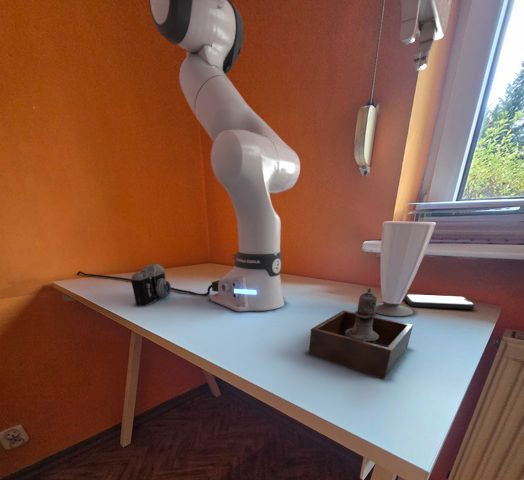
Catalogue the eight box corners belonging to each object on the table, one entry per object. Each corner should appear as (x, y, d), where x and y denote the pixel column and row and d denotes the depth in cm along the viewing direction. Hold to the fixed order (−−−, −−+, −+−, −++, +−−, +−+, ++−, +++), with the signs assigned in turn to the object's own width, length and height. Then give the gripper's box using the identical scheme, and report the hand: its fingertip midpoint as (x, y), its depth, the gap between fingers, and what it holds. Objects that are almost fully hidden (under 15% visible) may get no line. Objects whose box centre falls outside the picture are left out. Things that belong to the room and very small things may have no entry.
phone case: (410, 307, 76) (475, 310, 73) (411, 301, 76) (477, 304, 72) (403, 299, 84) (462, 301, 81) (404, 293, 83) (463, 296, 80)
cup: (416, 319, 67) (442, 222, 58) (367, 314, 70) (384, 222, 61) (409, 305, 77) (431, 221, 67) (367, 302, 80) (381, 221, 71)
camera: (155, 307, 76) (149, 270, 71) (133, 305, 77) (125, 269, 72) (178, 293, 89) (174, 261, 84) (159, 292, 90) (153, 261, 85)
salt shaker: (353, 360, 48) (365, 293, 43) (336, 346, 53) (345, 285, 48) (382, 356, 49) (396, 291, 44) (363, 343, 54) (374, 283, 49)
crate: (308, 353, 50) (310, 328, 48) (340, 331, 60) (343, 310, 57) (384, 379, 43) (391, 350, 40) (406, 349, 52) (413, 324, 50)
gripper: (426, -30, 43) (405, 85, 49) (394, -156, 29) (371, 30, 35) (474, -50, 40) (446, 76, 46) (467, -206, 25) (427, 11, 31)
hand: (413, 56), depth 40 cm, fingers open, 8 cm apart
